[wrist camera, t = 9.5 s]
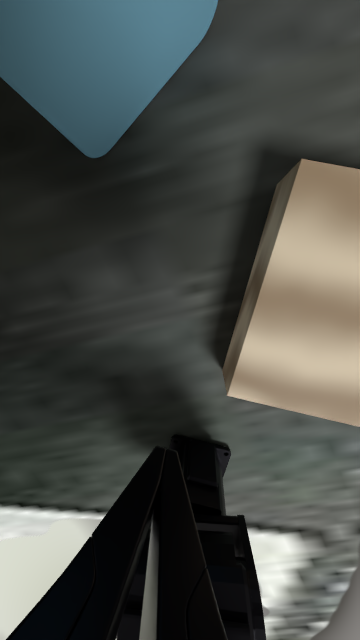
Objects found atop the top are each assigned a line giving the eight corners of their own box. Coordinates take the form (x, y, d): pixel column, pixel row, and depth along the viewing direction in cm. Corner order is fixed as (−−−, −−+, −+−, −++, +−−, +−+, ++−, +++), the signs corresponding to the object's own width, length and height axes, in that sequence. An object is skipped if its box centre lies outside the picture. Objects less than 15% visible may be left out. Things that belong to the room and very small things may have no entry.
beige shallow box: (336, 396, 19) (369, 429, 16) (222, 370, 20) (227, 395, 16) (427, 213, 15) (505, 196, 11) (276, 184, 15) (301, 158, 12)
